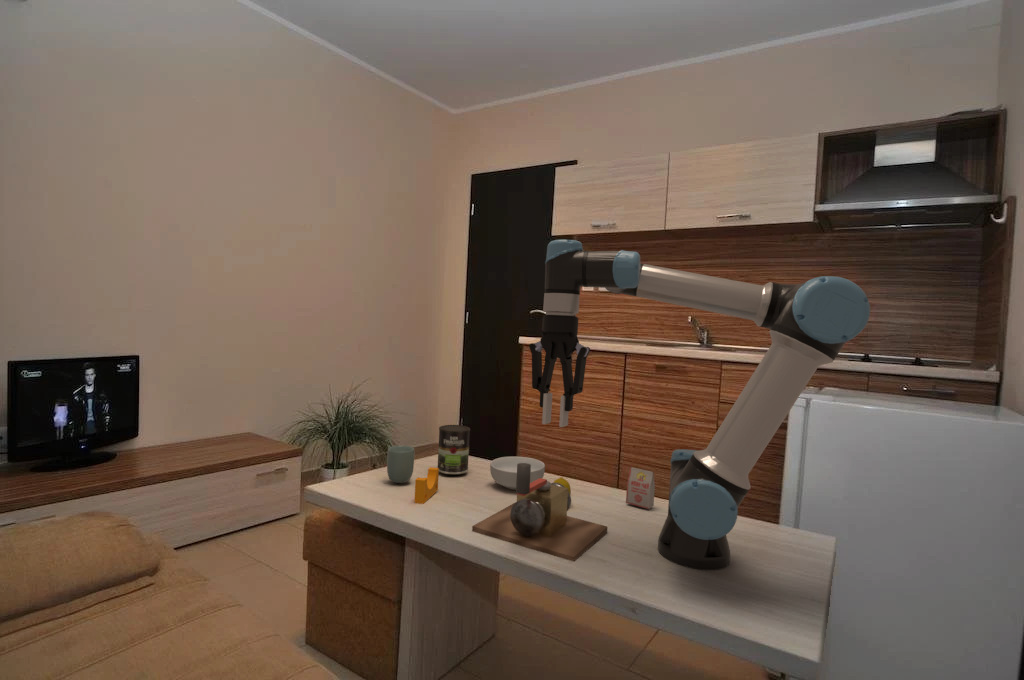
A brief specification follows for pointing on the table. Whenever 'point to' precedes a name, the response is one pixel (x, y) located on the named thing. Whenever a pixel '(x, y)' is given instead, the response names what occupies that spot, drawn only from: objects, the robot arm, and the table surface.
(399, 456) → the cup
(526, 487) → the lever
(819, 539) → the table surface
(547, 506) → the valve
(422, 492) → the orange arch block
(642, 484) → the white red food package
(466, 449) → the coffee can
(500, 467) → the cereal bowl
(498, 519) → the mount board
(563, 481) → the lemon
